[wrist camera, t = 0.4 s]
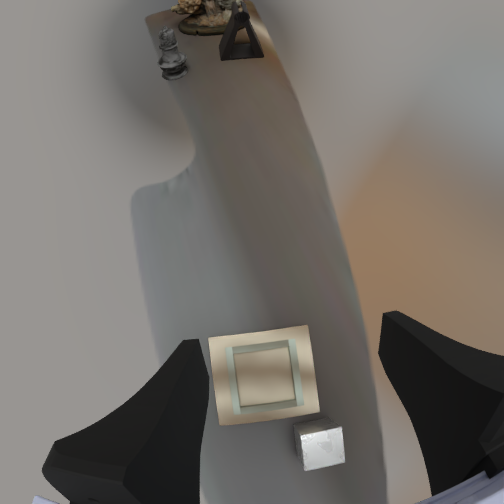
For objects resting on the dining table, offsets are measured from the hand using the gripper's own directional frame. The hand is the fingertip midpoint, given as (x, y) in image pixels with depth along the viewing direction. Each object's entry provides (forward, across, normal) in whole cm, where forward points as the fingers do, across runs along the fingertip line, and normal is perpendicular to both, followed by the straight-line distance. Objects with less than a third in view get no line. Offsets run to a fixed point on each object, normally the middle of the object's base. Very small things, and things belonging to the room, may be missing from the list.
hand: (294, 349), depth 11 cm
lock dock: (+19, +2, +19) cm, 27 cm away
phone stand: (+57, -1, -29) cm, 64 cm away
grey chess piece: (+53, +13, -25) cm, 60 cm away
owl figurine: (+66, +5, -41) cm, 78 cm away
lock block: (+14, -3, +26) cm, 29 cm away
